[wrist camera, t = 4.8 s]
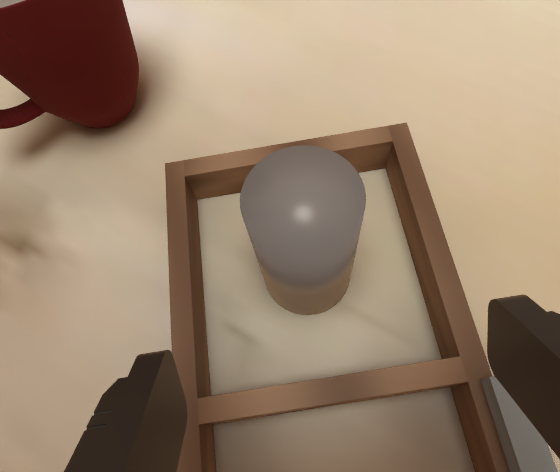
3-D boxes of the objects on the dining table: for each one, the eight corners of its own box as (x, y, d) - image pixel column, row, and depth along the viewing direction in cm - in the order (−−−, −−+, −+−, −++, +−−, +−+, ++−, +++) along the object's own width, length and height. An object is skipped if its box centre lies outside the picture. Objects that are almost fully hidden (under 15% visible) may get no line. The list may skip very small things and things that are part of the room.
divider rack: (210, 817, 14) (180, 928, 11) (179, 187, 25) (158, 152, 22) (613, 759, 14) (698, 855, 11) (410, 148, 25) (424, 107, 22)
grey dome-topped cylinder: (271, 321, 21) (247, 265, 14) (260, 241, 23) (234, 156, 16) (358, 306, 21) (379, 243, 14) (340, 228, 23) (350, 136, 16)
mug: (69, 206, 25) (-74, 81, 16) (-8, 141, 28) (-169, 1, 18) (191, 92, 28) (129, -69, 19) (111, 43, 30) (23, -121, 21)
